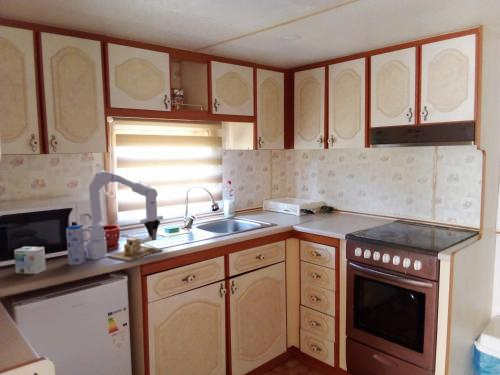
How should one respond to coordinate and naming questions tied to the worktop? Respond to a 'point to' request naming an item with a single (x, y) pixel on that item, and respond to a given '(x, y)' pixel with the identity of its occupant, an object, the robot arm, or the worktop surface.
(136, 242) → the bearing stand
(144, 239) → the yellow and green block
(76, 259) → the patterned water bottle
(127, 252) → the brass spacer
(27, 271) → the light bulb box
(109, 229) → the plant pot
